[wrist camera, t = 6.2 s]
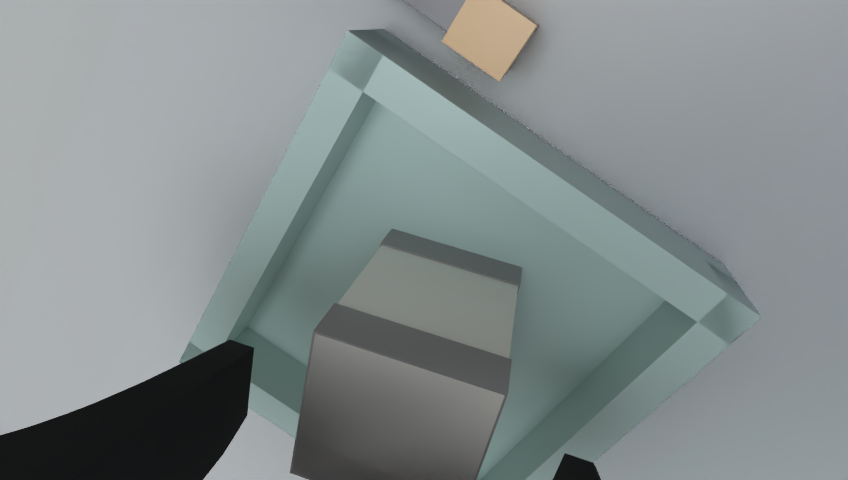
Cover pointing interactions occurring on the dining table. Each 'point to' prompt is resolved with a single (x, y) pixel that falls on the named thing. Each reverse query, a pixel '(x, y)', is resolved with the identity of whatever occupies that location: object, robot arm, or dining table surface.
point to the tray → (479, 233)
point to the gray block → (409, 367)
